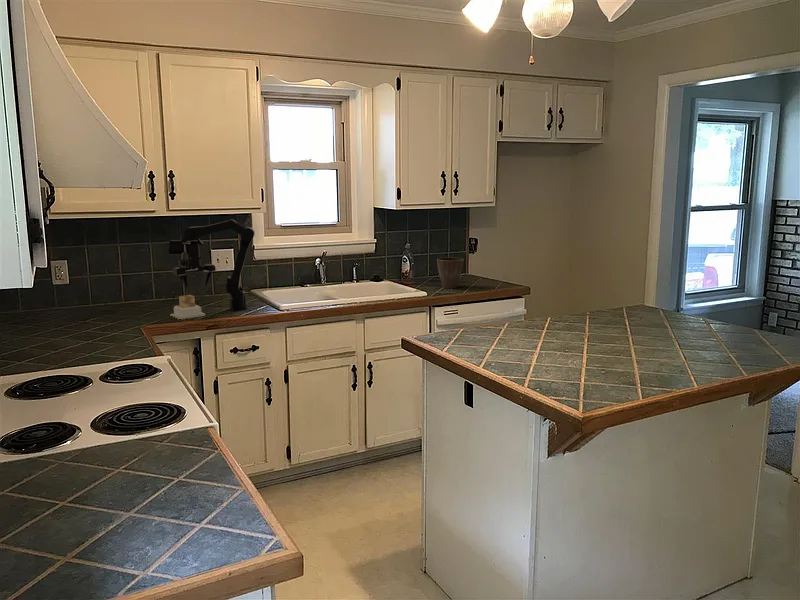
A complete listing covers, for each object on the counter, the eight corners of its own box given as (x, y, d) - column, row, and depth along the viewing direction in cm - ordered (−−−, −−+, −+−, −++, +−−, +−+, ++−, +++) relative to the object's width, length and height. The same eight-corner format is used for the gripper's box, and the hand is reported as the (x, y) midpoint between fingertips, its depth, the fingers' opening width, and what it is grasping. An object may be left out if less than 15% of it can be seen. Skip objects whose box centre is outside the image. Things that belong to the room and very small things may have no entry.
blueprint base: (196, 312, 297) (195, 302, 296) (205, 315, 290) (204, 305, 289) (170, 316, 289) (169, 306, 288) (179, 319, 282) (178, 309, 281)
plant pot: (450, 284, 366) (451, 256, 363) (469, 287, 355) (469, 258, 352) (431, 287, 357) (431, 258, 354) (449, 290, 346) (449, 261, 343)
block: (190, 305, 292) (189, 294, 291) (195, 307, 288) (194, 296, 287) (179, 307, 289) (178, 296, 288) (184, 308, 285) (183, 297, 284)
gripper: (204, 251, 307) (207, 283, 310) (166, 254, 295) (169, 288, 298) (215, 253, 299) (217, 286, 302) (176, 256, 287) (178, 291, 290)
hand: (195, 287), depth 298 cm, fingers open, 9 cm apart
